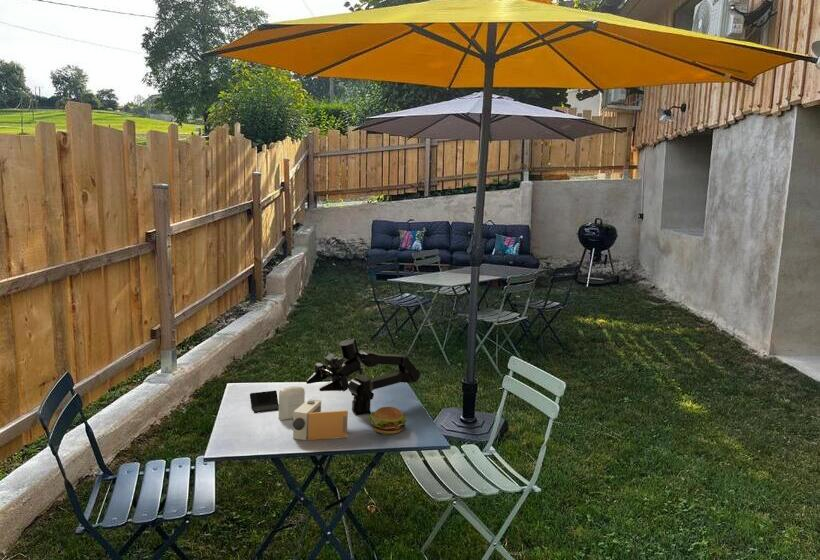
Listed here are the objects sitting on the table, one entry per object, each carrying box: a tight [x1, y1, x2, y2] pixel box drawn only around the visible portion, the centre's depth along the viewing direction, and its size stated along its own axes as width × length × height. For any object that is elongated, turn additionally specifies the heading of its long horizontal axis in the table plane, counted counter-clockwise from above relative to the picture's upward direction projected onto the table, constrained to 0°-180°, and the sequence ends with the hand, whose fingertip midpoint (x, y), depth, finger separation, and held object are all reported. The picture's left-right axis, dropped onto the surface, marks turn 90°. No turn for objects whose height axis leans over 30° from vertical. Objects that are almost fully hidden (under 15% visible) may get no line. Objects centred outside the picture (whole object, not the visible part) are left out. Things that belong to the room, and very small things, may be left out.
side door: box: [306, 409, 349, 441], centre depth 221 cm, size 14×1×10 cm, turn 107°
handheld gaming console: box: [249, 390, 279, 414], centre depth 250 cm, size 12×7×10 cm
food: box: [367, 406, 407, 435], centre depth 233 cm, size 14×14×8 cm
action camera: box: [292, 398, 322, 441], centre depth 226 cm, size 16×5×11 cm, turn 167°
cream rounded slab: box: [278, 385, 306, 421], centre depth 240 cm, size 10×4×12 cm, turn 123°
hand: (313, 386), depth 233 cm, fingers open, 9 cm apart
